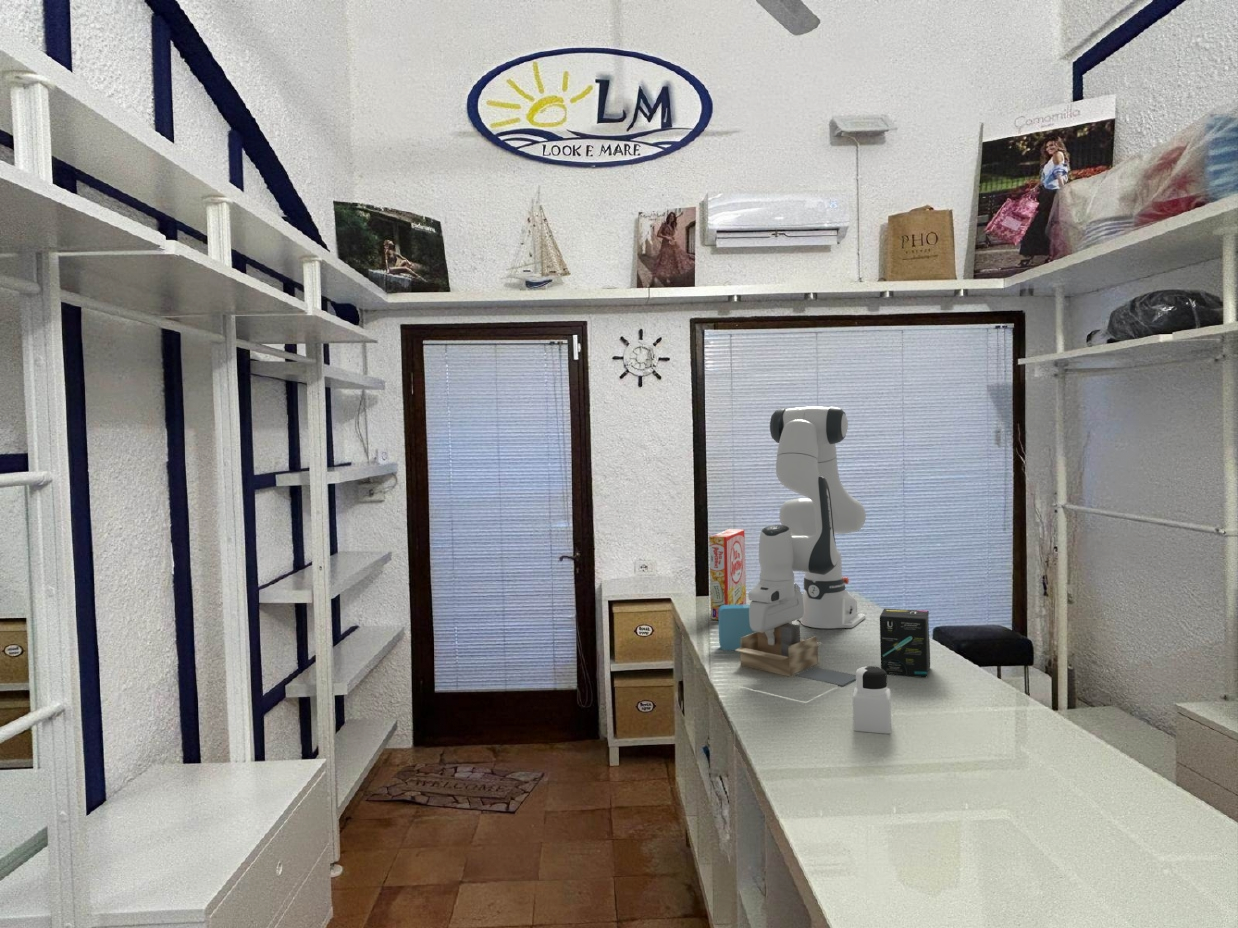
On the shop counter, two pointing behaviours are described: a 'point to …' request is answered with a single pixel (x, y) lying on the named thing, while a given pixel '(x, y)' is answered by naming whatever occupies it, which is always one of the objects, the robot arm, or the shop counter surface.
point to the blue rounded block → (733, 625)
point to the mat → (827, 676)
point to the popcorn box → (727, 569)
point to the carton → (779, 656)
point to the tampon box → (905, 642)
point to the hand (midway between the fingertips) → (778, 641)
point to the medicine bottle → (871, 701)
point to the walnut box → (780, 639)
